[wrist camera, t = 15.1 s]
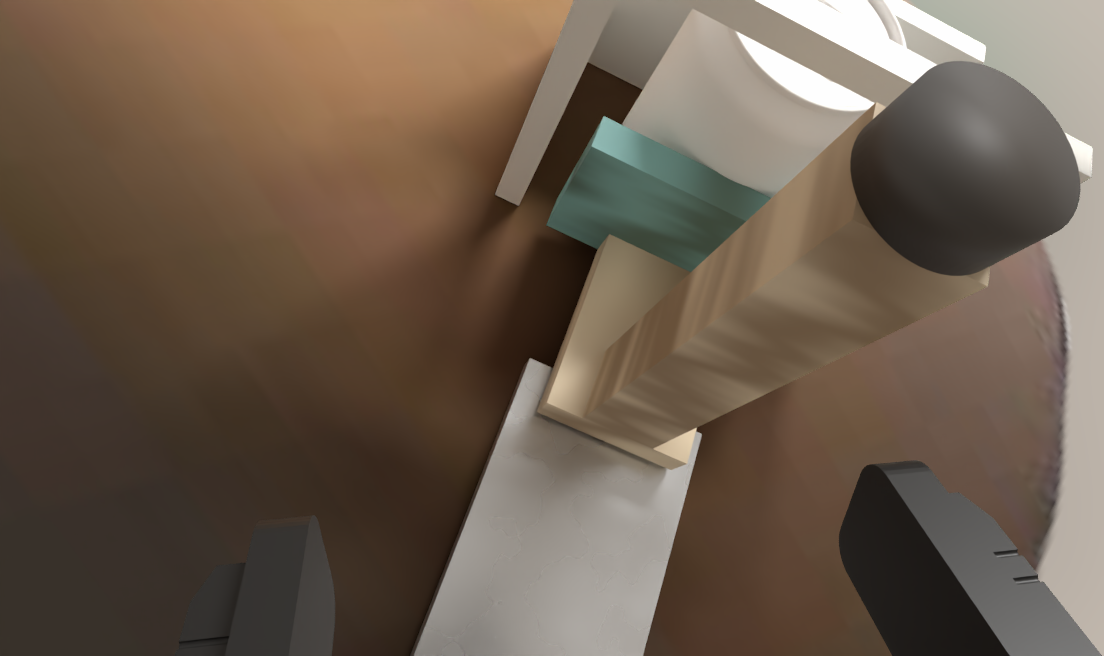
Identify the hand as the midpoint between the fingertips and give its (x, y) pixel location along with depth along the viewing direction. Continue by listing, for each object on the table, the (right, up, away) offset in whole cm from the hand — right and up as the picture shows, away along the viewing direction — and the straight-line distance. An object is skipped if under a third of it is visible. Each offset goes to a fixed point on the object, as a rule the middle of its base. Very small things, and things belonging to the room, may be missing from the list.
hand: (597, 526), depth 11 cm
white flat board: (-1, -6, +18) cm, 19 cm away
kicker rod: (+3, +2, +21) cm, 21 cm away
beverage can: (+5, +9, +26) cm, 28 cm away
